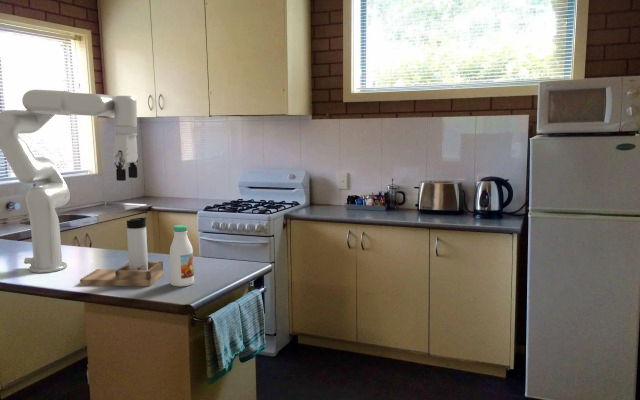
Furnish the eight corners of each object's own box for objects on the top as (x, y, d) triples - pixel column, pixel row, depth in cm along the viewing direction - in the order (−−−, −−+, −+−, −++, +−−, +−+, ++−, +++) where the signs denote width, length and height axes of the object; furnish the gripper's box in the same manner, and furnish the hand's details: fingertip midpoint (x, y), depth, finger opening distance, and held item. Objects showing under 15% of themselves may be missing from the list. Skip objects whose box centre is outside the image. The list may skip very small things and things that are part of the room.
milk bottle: (172, 288, 180) (170, 228, 177) (169, 282, 187) (166, 224, 184) (196, 285, 183) (194, 226, 180) (191, 279, 190) (189, 223, 187)
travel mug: (143, 277, 185) (140, 219, 182) (125, 276, 187) (122, 218, 184) (152, 272, 191) (149, 216, 189) (135, 271, 193) (132, 215, 190)
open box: (80, 285, 184) (79, 270, 183) (97, 274, 197) (96, 261, 196) (150, 286, 183) (149, 271, 182) (163, 275, 196) (162, 261, 195)
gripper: (126, 130, 202) (127, 176, 205) (104, 131, 185) (105, 181, 188) (146, 130, 202) (147, 177, 204) (125, 131, 185) (126, 182, 187)
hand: (127, 179), depth 196 cm, fingers open, 9 cm apart
